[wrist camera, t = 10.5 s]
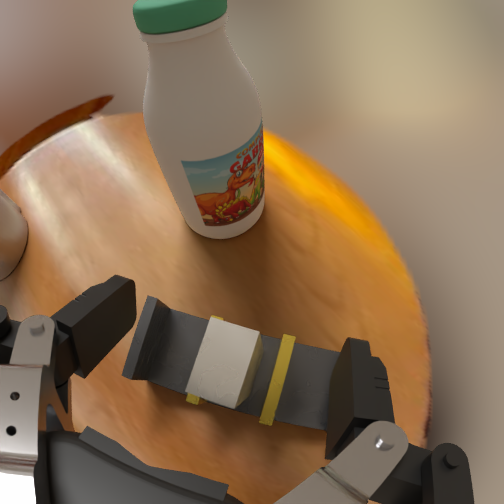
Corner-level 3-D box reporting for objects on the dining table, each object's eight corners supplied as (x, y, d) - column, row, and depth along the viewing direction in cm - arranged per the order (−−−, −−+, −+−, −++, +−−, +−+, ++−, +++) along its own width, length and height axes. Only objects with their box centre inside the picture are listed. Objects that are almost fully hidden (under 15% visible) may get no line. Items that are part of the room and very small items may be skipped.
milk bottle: (178, 242, 27) (73, 40, 8) (188, 174, 30) (129, -12, 12) (265, 241, 26) (259, 4, 8) (264, 171, 29) (257, -31, 11)
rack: (167, 310, 24) (147, 295, 20) (348, 356, 22) (366, 351, 18) (145, 377, 22) (121, 375, 18) (330, 428, 20) (344, 438, 16)
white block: (234, 342, 22) (210, 316, 13) (263, 351, 21) (259, 331, 13) (220, 386, 20) (185, 391, 12) (249, 396, 20) (234, 408, 11)
